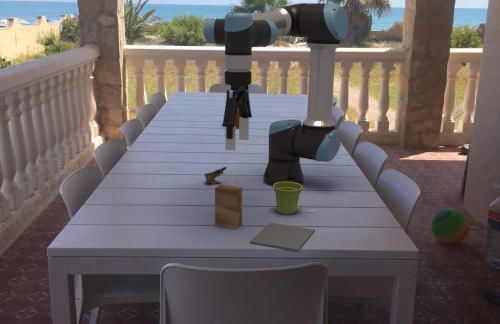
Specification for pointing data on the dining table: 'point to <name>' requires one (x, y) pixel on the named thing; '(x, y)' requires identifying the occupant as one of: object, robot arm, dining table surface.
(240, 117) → the disposable coffee cup
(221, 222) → the walnut block
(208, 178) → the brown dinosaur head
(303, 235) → the rubber mat
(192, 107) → the dining table surface
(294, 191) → the plant pot
